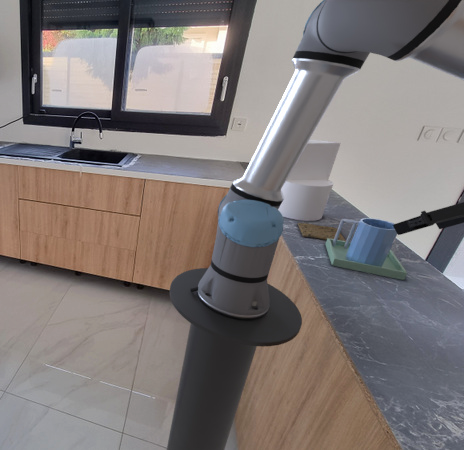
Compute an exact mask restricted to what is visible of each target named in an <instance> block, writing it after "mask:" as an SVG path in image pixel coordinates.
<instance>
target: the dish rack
mask: <svg viewBox="0 0 464 450" xmlns="http://www.w3.org/2000/svg"><path fill="white" fill-rule="evenodd" d="M359 222H360V220H353V219H347V218H341V219H340V222H339V225H338V228H337V229H338V230H337V232H336V235H335V238H334V239H329V238H327V240H325V244H324V245H325V249H326V251H327V255H328V258H329V262H330V264H331V266H334V267H339V268H342V269H348V270H353V271H357V272H362V273H367V274H371V275H378V276H382V277H387V278H391V279H397V280H401V281H405V279H406V277H407V275H408V271H407V270H406V268H405V267H404V266H403V265H402V263H401V262H400V260H399V258H398V257H397V256H396V254H395V252H393V250H392V248H391V249H390V251H389V253H388V256H387V258H386V260H385V262H384V264H383V266H382V267H379V266H374V265H369V264H364V263H358V262H353V261H348V260H347V259H346V254H347V251H348V249H349V246H350V244H351V241H352V238H353V236H354V233H355V231H356V228H357V226H358V224H359ZM345 223H349V224H352V226H351V228H350V230H349V232H348V235H347V238H346V239H345V240H346V241H340V240H337V239H338V236H339V234H340V233H341V231H342V229H343V226H344V224H345Z"/></svg>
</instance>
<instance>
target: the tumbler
mask: <svg viewBox="0 0 464 450" xmlns="http://www.w3.org/2000/svg"><path fill="white" fill-rule="evenodd" d="M359 221H360V222H359V224H357V225H356V228H355V230H354V233H353V235H352V238H351V240H350V242H351V244H350V246H349V249H348V251H347V254H346V259H347V260H348V261H353V262H358V263H364V264H369V265H374V266H379V267H382V266H383V264H384V262H385V260H386V258H387V256H388V253H389V251H390V249H391V250H392V247H393V245H394V243H395V241H396V239H397V237H398V234H397V232H396V230H395V229H394V227H393V224H395V223H393V222H392V221H388V220H384V219H380V218H371V217H364V218H361V219H360V220H359Z"/></svg>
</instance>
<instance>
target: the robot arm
mask: <svg viewBox="0 0 464 450" xmlns="http://www.w3.org/2000/svg"><path fill="white" fill-rule="evenodd" d="M303 28H304V30H303V32H302V38H301V39H300V42H299V44H298V46H297V48H296V50H295V53H294V54H293V56H292V59H291V63H292V66H293V67H294V73H293V75H292V77H291V79H290V80H289V83H288V85H287V87H286V88H285V91H284V93H283V95H282V96H281V99H280V101H279V102H278V105H277V107H276V109H275V111H274V113H273V115H272V117H271V119H270V121H269V123H268V125H267V127H266V129H265V131H264V133H263V135H262V137H261V139H260V141H259V143H258V145H257V147H256V149H255V152H254V154H253V155H252V157H251V159H250V162H249V164H248V165H247V168H246V169H245V172H244V173H243V176H241V177H239V178H237V179H234V180H233V181H232V183H231V185H230V187H229V188H228V191H227V193H226V194H225V196H224V197H223V198H222V199H221V201H220V202H219V205H218V208H217V227H216V235H215V241H214V246H213V251H212V256H211V261H210V265H209V267H207V268H208V270H207V271H206V273H205V274H204V276H203V277H202V279H201V280H200V282H199V284H198V287H194V288H190V290H191V292H194V291H197V296H198V298H199V300H200V301H201V302H202V303H203V304H204V305H205V306H206V307H207V308H209V309H210V310H212V311H214V312H216V313H218V314H220V315H222V316H225V317H228V318H232V319H236V320H245V321H250V320H257V319H260V318H262V317H264V316H265V315H266V314H267V312H268V309H269V304H270V299H269V291H268V284H269V283H268V278H269V274H270V271H271V267H272V264H273V261H274V258H275V255H276V251H277V248H278V246H279V245H278V244H279V241H280V238H281V236H282V234H283V233H284V222H285V221H284V219H285V218H284V217H283V215H282V214H281V212H280V211H279V210H278V209H279V207H280V205H281V203H282V202H283V200H284V196H283V193H282V191H281V189H282V187H283V185H284V183H285V182H286V180H287V178H288V176H289V175H290V173H291V171H292V169H293V168H294V166H295V164H296V162H297V161H298V159H299V157H300V155H301V154H302V152H303V150H304V148H305V147H306V145H307V143H308V141H309V140H311V138H312V136H313V135H314V133H315V131H316V130H317V127H318V125H319V124H320V122H321V121H322V119H323V117H324V115H325V114H326V112H327V111H328V108H329V106H330V105H331V103H332V102H333V100H334V98H335V96H336V94H337V93H338V91H339V89H340V88H341V85H342V83H343V82H344V80H346V79H348V78H349V77H351V76H353V75H355V74H357V73H359V72H360V71H361V69H362V68H363V66H364V64H365V62H366V60H367V58H368V57H369V55H370V54H374V55H377V56H382V57H385V58H387V59H389V60H392V61H394V62H401V61H404V60H408V59H411V60H413V61H416V62H419V63H421V64H424V65H426V66H428V67H430V68H433V69H436V70H438V71H440V72H442V73H445V74H447V75H449V76H451V77H452V76H453V77H454V78H457V79H459V80H461V81H464V0H322V1H320V3H319V4H317V5H316V7H315V8H314V9H313V10H312V12H311V13H310V15H309V17H308V18H307V20H306V22H305V25H304V27H303ZM461 224H464V201H463V202H459V203H456V204H452V205H448V206H446V207H445V206H444V207H441V208H438V209H434V210H430V211H428V212H427V211H426V210H422V211H420V215H417V216H415V217H412V218H409V219H406V220H403V221H399V222H396V223H394V224H393V227H394V229H395V230H396V232H397V236H401V235H404V234H407V233H411V232H415V231H418V230H422V229H425V228H427V227H431V226H434V225H436V226H437V228H438V230H443V229H446V228H451V227H453V226H454V227H455V226H457V225H461ZM267 283H268V284H267Z"/></svg>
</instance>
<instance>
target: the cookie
mask: <svg viewBox="0 0 464 450" xmlns="http://www.w3.org/2000/svg"><path fill="white" fill-rule="evenodd" d="M297 225H298V229H299V231H300V234H301V236H302V237H305V238H313V239H314V238H315V239H317V240H319V239H320V240H324V241H327V238H329V239H334V238H335V235H336V232H337V230H338V228H337V227H334V226H327V225H326V226H325V225H318V224H312V223H308V222H306V223H305V222H298V223H297ZM337 240H340V241H346V240H347V239H345V237H344V235H342V233H341V232H340V234H339V236H338V239H337Z"/></svg>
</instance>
